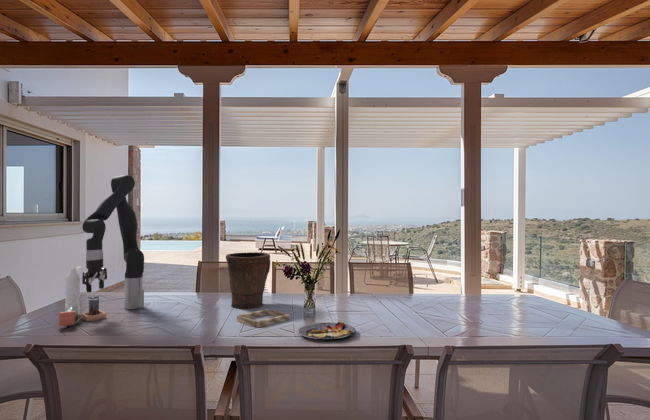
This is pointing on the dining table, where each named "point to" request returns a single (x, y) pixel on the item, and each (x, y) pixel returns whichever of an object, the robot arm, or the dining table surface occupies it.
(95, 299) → the peg
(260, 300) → the clay pot
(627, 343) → the dining table surface
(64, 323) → the crank
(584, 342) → the dining table surface
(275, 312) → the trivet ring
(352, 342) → the dining table surface
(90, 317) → the tray
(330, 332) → the food plate
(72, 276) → the water bottle
